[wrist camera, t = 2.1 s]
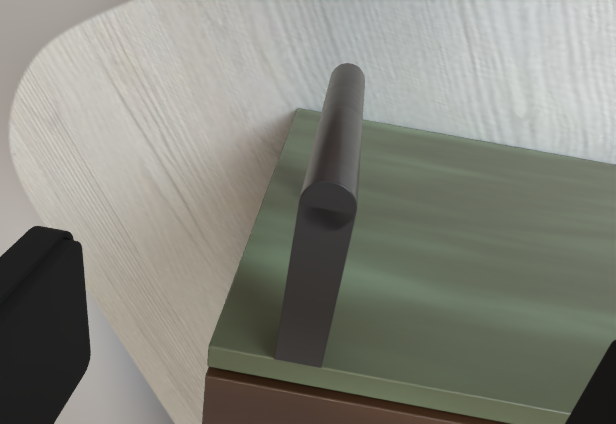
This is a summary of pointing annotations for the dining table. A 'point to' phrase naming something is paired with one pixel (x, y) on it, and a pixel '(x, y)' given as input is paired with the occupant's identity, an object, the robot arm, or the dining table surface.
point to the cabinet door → (425, 268)
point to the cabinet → (306, 404)
